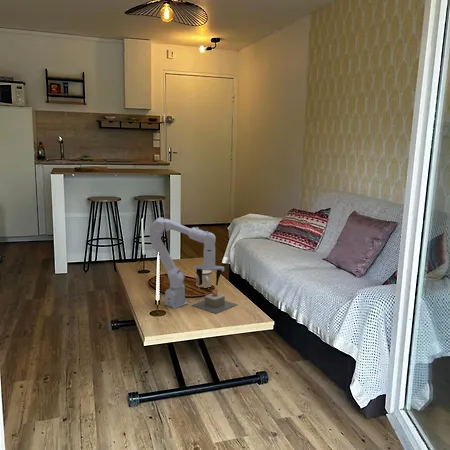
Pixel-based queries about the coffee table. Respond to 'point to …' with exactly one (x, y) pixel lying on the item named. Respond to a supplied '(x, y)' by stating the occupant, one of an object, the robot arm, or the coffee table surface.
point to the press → (214, 303)
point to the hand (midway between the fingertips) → (209, 284)
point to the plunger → (214, 292)
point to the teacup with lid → (205, 279)
